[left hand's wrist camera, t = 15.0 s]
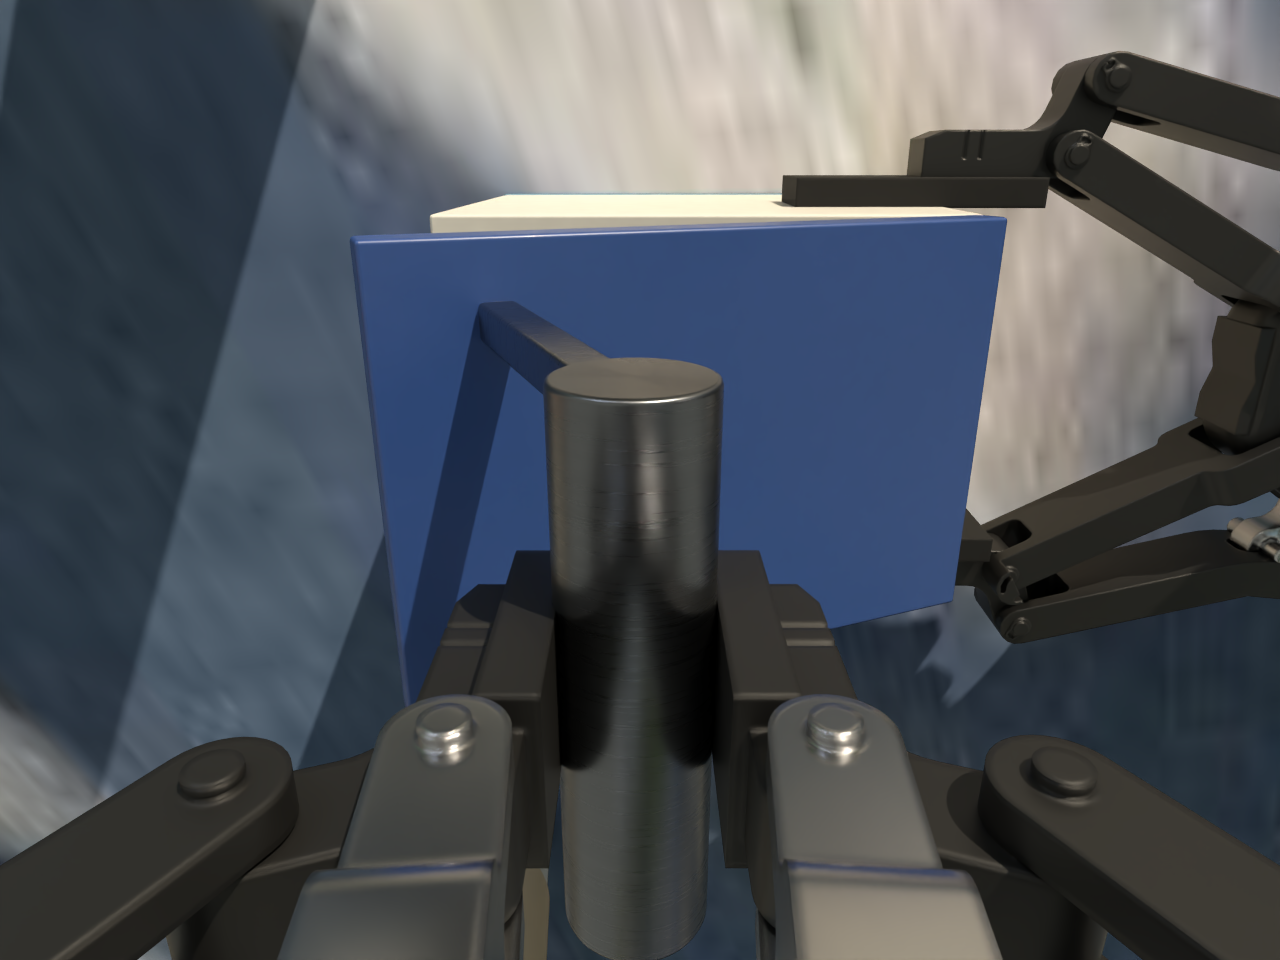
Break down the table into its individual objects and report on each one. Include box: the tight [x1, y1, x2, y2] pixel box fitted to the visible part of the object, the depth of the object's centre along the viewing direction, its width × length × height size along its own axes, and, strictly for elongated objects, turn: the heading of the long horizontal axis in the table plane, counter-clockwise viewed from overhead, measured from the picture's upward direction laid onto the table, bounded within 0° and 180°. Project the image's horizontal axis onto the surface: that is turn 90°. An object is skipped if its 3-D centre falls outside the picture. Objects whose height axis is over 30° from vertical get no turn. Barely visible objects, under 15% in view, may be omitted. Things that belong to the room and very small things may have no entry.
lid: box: [350, 215, 1007, 960], centre depth 15 cm, size 14×10×9 cm
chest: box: [430, 194, 981, 233], centre depth 27 cm, size 13×10×11 cm
